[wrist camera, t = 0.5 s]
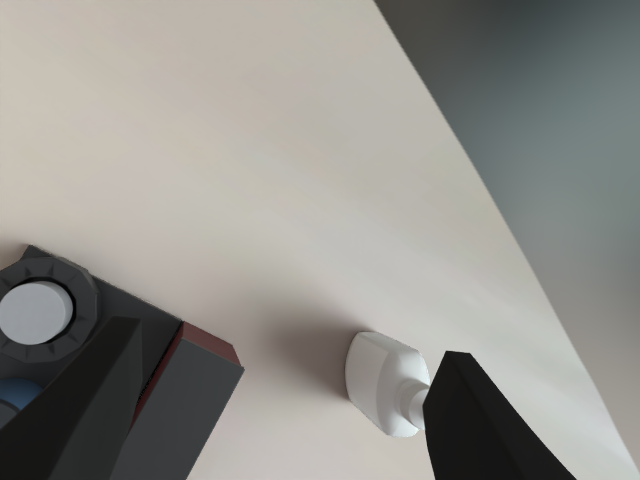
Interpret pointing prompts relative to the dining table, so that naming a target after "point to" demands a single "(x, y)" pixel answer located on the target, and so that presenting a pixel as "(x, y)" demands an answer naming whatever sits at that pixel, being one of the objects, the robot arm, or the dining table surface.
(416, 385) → the eye dropper bottle
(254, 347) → the dining table surface
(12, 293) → the power button
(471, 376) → the robot arm
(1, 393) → the container
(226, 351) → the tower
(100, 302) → the dark grey drip tray
